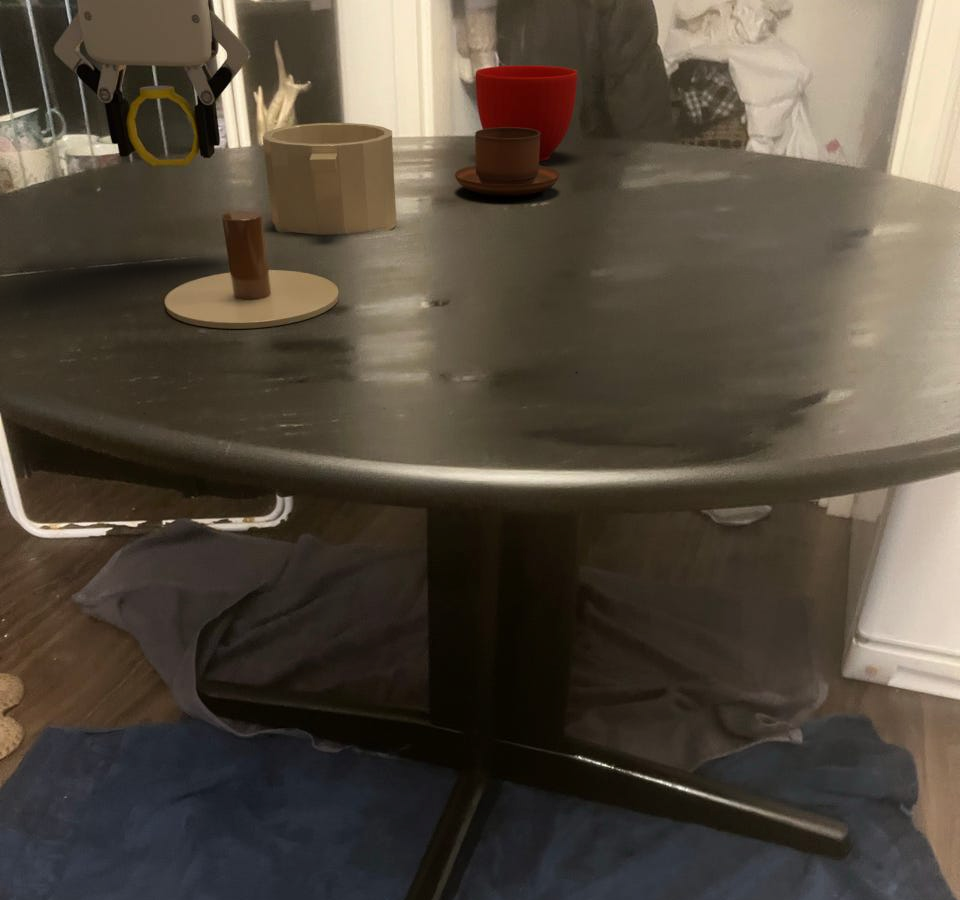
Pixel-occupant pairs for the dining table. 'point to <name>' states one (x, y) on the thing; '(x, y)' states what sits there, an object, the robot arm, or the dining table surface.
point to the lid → (250, 286)
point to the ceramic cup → (528, 100)
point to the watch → (145, 93)
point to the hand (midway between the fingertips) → (167, 152)
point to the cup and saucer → (507, 163)
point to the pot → (331, 178)
